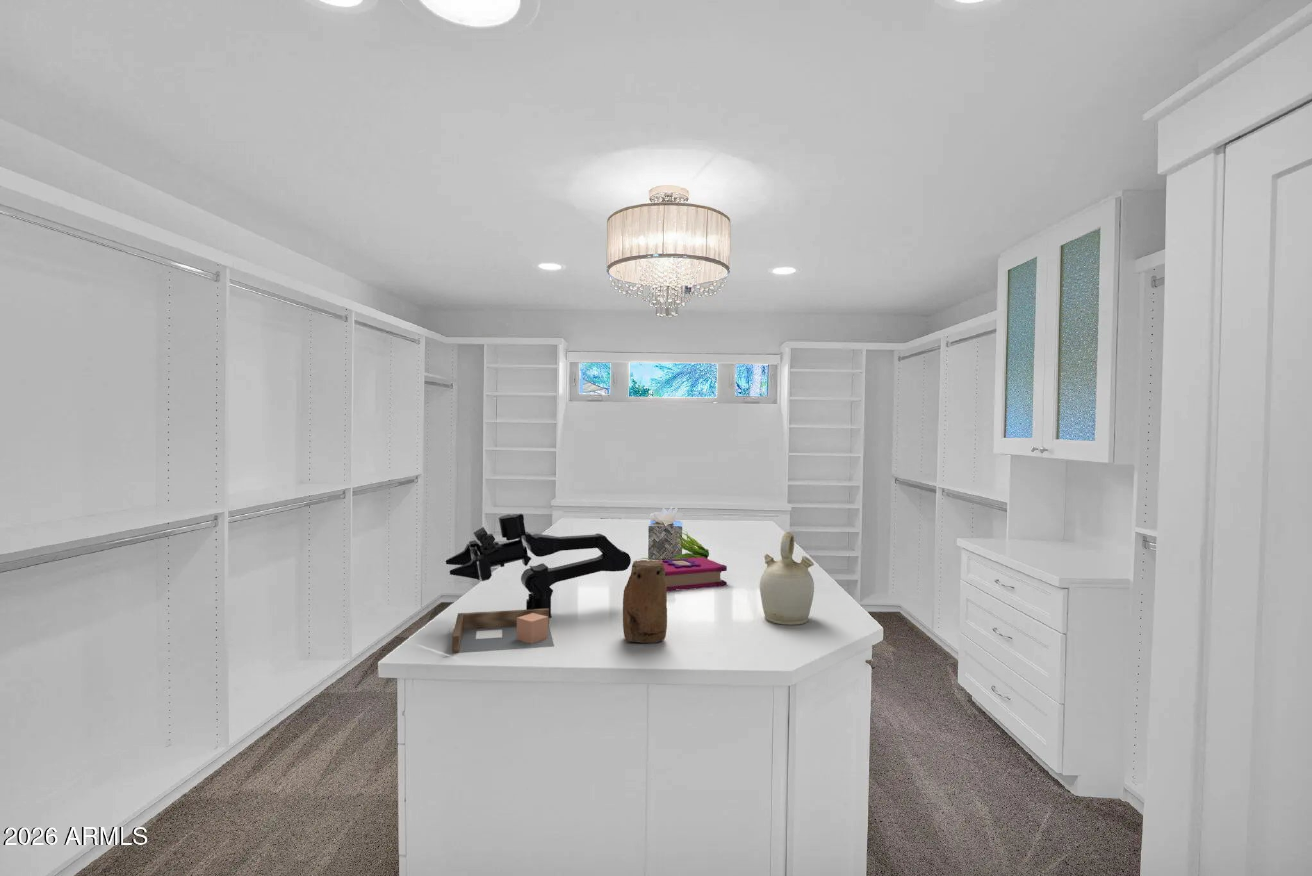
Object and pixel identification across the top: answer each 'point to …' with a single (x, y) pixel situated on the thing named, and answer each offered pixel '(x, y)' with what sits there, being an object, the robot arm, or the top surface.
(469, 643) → the mat
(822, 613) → the top surface
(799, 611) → the jug
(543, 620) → the cube
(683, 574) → the book
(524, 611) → the corner walls
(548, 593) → the robot arm
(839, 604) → the top surface
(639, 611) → the brown carved figurine
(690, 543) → the decorative plant
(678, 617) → the top surface
